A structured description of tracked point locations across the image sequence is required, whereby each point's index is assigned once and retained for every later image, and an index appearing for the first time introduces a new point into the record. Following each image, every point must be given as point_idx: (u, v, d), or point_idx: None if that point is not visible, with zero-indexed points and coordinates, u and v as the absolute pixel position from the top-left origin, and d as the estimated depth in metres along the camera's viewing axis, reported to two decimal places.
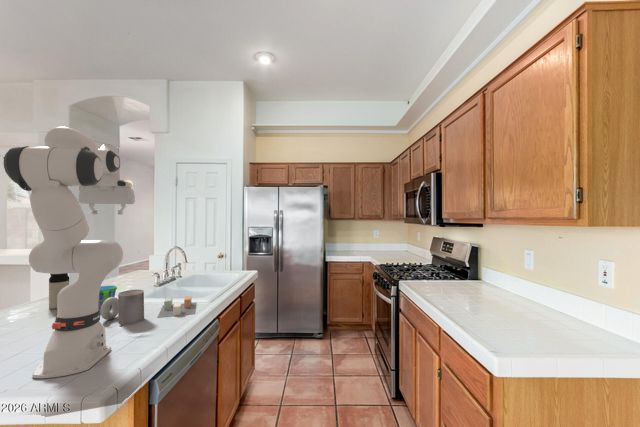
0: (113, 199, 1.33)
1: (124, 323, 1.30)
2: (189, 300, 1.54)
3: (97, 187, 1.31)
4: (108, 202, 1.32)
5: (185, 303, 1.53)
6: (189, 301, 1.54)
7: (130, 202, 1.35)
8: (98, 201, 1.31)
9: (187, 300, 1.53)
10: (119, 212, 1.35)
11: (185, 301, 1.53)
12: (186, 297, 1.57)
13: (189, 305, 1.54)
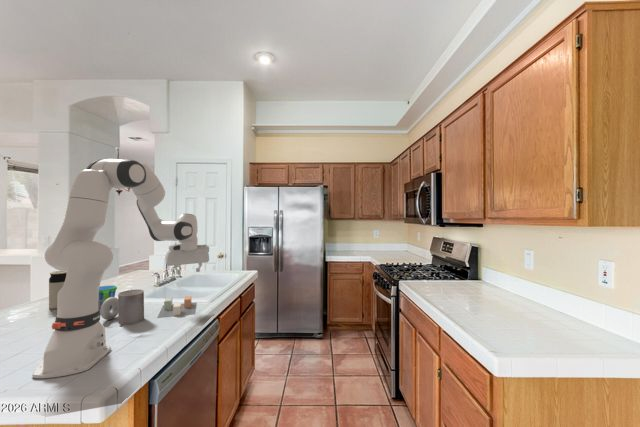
0: None
1: (124, 323, 1.30)
2: (189, 300, 1.54)
3: None
4: None
5: (185, 303, 1.53)
6: (189, 301, 1.54)
7: None
8: None
9: (187, 300, 1.53)
10: None
11: (185, 301, 1.53)
12: (186, 297, 1.57)
13: (189, 305, 1.54)
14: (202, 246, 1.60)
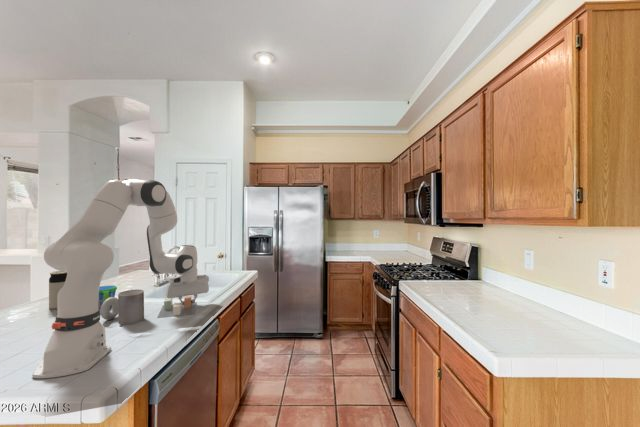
0: None
1: (124, 323, 1.30)
2: (189, 300, 1.54)
3: None
4: None
5: (185, 303, 1.53)
6: (189, 301, 1.54)
7: None
8: None
9: (187, 300, 1.53)
10: None
11: (185, 301, 1.53)
12: (186, 297, 1.57)
13: (189, 305, 1.54)
14: (202, 276, 1.60)
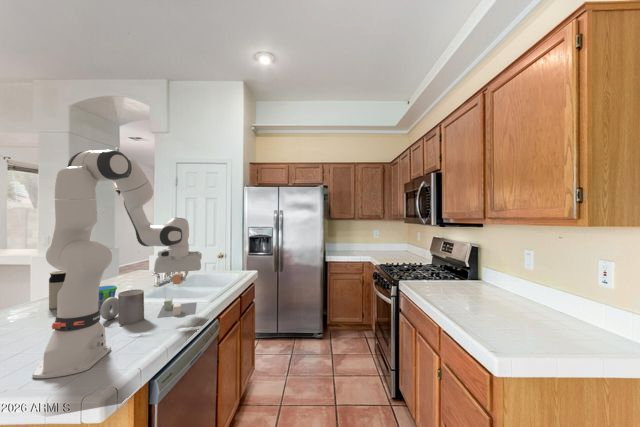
0: None
1: (124, 323, 1.30)
2: (178, 276, 1.43)
3: None
4: None
5: (174, 279, 1.43)
6: (178, 277, 1.43)
7: None
8: None
9: (176, 276, 1.43)
10: None
11: (174, 277, 1.43)
12: (176, 274, 1.47)
13: (178, 282, 1.43)
14: (194, 253, 1.49)
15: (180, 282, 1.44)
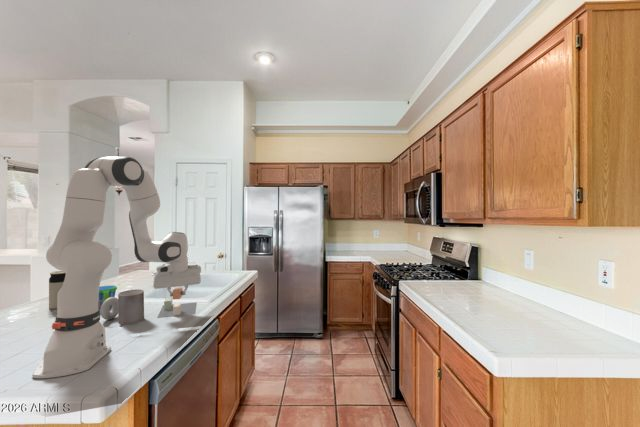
0: None
1: (124, 323, 1.30)
2: (178, 291, 1.42)
3: None
4: None
5: (174, 294, 1.42)
6: (178, 292, 1.42)
7: None
8: None
9: (176, 291, 1.42)
10: None
11: (173, 292, 1.42)
12: (176, 288, 1.46)
13: (178, 297, 1.42)
14: (193, 266, 1.48)
15: (180, 297, 1.43)
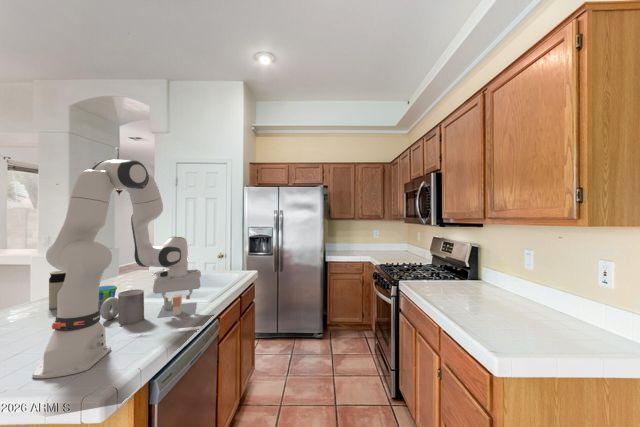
0: None
1: (124, 323, 1.30)
2: (178, 299, 1.42)
3: None
4: None
5: (173, 302, 1.41)
6: (178, 300, 1.42)
7: None
8: None
9: (176, 299, 1.42)
10: None
11: (173, 300, 1.41)
12: (175, 295, 1.45)
13: (178, 304, 1.42)
14: (193, 271, 1.48)
15: (180, 304, 1.43)
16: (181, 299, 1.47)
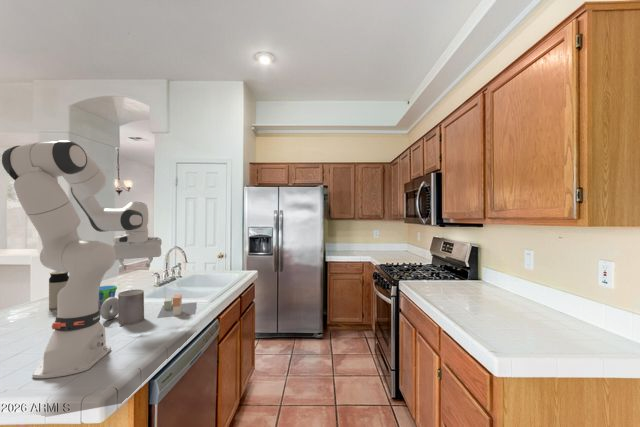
0: None
1: (124, 323, 1.30)
2: (178, 299, 1.42)
3: None
4: None
5: (173, 302, 1.41)
6: (178, 300, 1.42)
7: None
8: None
9: (176, 299, 1.42)
10: None
11: (173, 300, 1.41)
12: (175, 295, 1.45)
13: (178, 304, 1.42)
14: (153, 239, 1.44)
15: (180, 304, 1.43)
16: (181, 299, 1.47)
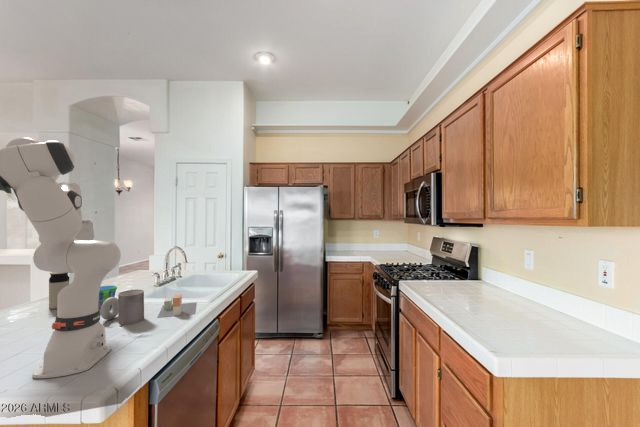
0: None
1: (124, 323, 1.30)
2: (178, 299, 1.42)
3: None
4: None
5: (173, 302, 1.41)
6: (178, 300, 1.42)
7: None
8: None
9: (176, 299, 1.42)
10: None
11: (173, 300, 1.41)
12: (175, 295, 1.45)
13: (178, 304, 1.42)
14: (85, 222, 1.39)
15: (180, 304, 1.43)
16: (181, 299, 1.47)
